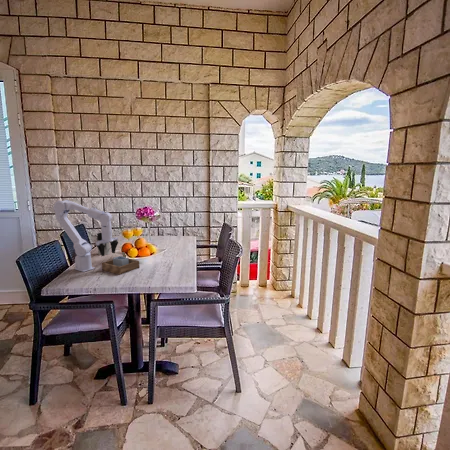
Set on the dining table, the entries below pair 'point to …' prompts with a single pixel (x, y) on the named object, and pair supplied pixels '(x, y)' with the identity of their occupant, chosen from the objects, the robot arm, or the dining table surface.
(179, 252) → the dining table surface
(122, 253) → the flower pot
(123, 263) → the box
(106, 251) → the grey jug
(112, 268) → the big crate
